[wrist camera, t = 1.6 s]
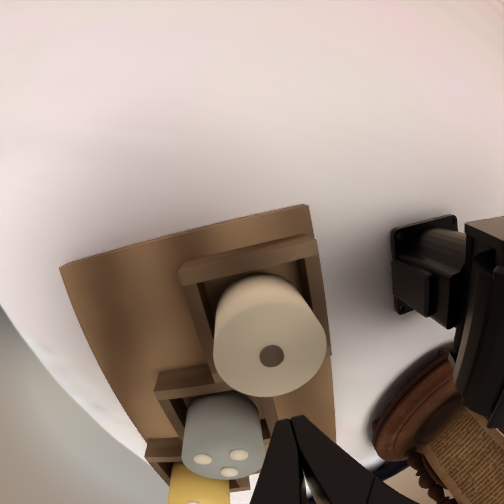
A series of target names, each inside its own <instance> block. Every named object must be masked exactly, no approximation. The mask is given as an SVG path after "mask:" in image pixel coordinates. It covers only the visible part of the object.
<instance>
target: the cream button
mask: <svg viewBox="0 0 504 504" xmlns="http://www.w3.org/2000/svg"><path fill="white" fill-rule="evenodd" d="M326 348H327V341H326V335H325V332H324V329H323V327H322V326H321V324H320V322H319V321H318V319H317V318H316V316H315V315H314V313H313V312H312V310H311V309H310V307H309V306H308V304H307V303H306V302H305V300H304V299H303V297H302V296H301V294H300V293H299V291H298V290H297V289H296V287H295V286H294V285H293V284H292V283H291V282H289V281H288V280H287V279H285V278H283V277H281V276H278V275H276V274H271V273H253V274H249V275H246V276H243V277H241V278H239V279H237V280H236V281H234V282H233V283H232V284H230V285H229V286H228V287H227V288H226V289H225V291H224V292H223V293H222V295H221V297H220V299H219V301H218V304H217V308H216V320H215V334H214V348H213V359H214V364H215V367H216V370H217V372H218V374H219V375H220V377H221V378H222V379H223V380H224V381H225V382H226V383H227V384H228V385H229V386H230V387H232V388H233V389H235V390H237V391H239V392H241V393H244V394H247V395H251V396H257V397H272V396H278V395H283V394H286V393H289V392H291V391H294V390H296V389H297V388H299V387H301V386H302V385H304V384H305V383H307V382H308V381H309V380H310V379H311V378H312V377H313V376H314V375H315V374H316V372H317V371H318V370H319V368H320V367H321V365H322V363H323V360H324V358H325V354H326Z"/></svg>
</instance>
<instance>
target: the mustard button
mask: <svg viewBox="0 0 504 504" xmlns="http://www.w3.org/2000/svg"><path fill="white" fill-rule="evenodd" d="M168 504H230V490H229V480H219V479H212V478H207V477H204V476H201V475H198V474H196V473H194V472H192V471H191V470H189V469H188V468H187V467H186V466H185V465H184V463H183V461H181V462H175V463H174V464H173V466H172V472H171V480H170V488H169V497H168Z"/></svg>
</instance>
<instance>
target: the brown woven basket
mask: <svg viewBox="0 0 504 504" xmlns="http://www.w3.org/2000/svg"><path fill="white" fill-rule="evenodd" d="M450 351H451V350H449V349H446V348H442V349H440V352H439V353H440V356H441V357H440V358H438V359H437V360H435V361H434V362H432V363H431V364H430V365H428V366H427V367H426V368H425V369H423V370H422V371H421V372H420V373H419V374H418V375H416V376H415V377H414V378H413V379H412V380H411V381H410V382H409V383H408V384H407V385H406V386H405V387H404V388H403V389H402V390H401V391H400V392H399V393H398V395H397V396H396V397H395V398H394V399H393V400H392V402H391V403H390V404H389V406H388V407H387V408H386V410H385V411H384V413H383V414H382V416H381V417H380V419H379V421H374V422H373V423H372V429H373V446H374V448H375V450H376V452H377V454H378V455H379V457H380V458H382V459H384V460H386V461H402V460H406V459H408V461H407V462H408V465H409V466H411V467H412V468H414V469H415V470H417V473H416V476H420V478H419V485H420V487H422V488H426V489H427V488H429V490H428V496H429V497H430V498H432V499H433V500H435V501H436V502H437V504H504V437H503V436H502V435H501V434H500V433H499V432H498V431H497V430H496V429H495V428H493V429H489V428H487V427H486V424H487V422H488V421H489V419H490V418H489V417H484V416H481V415H479V414H477V413H475V412H473V411H471V410H470V409H468V408H467V407H466V406H465V405H463V403H462V398H463V397H462V396H461V395H460V393H459V391H458V390H457V388H456V387H455V384H454V378H453V372H454V370H453V368H452V366H451V364H450V362H449V360H448V358H449V354H450ZM498 429H499V430H500V431H501V432H502V433H503V434H504V427H503V428H498ZM436 483H437V484H436ZM443 488H444V489H447V490H449V491H450V492H451V494H452V495H453V497H454V498H453V499H449V497H445V496H444V490H443Z"/></svg>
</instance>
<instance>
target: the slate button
mask: <svg viewBox="0 0 504 504" xmlns="http://www.w3.org/2000/svg"><path fill="white" fill-rule="evenodd" d="M265 456H266V455H265V449H264V443H263V437H262V431H261V424H260V418H259V412H258V409H257V406H256V405H255V404H254V402H253V401H251V400H250V399H249V398H247V397H246V396H244V395H241V394H239V393H235V392H230V391H223V392H217V393H211V394H205V395H200V396H198V397H197V398H195V399H194V400H193V401H192V402H191V403H190V405H189V407H188V410H187V416H186V424H185V431H184V439H183V447H182V456H181V457H182V461H183V463H184V465H185V466H186V467H187V468H188V469H189V470H191V471H192V472H194V473H196V474H198V475H201V476H204V477H207V478H212V479H219V480H231V479H238V478H243V477H246V476H249V475H252V474H254V473H255V472H257V471H258V470H260V469H261V468H262V465H263V462H264V459H265Z"/></svg>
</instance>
